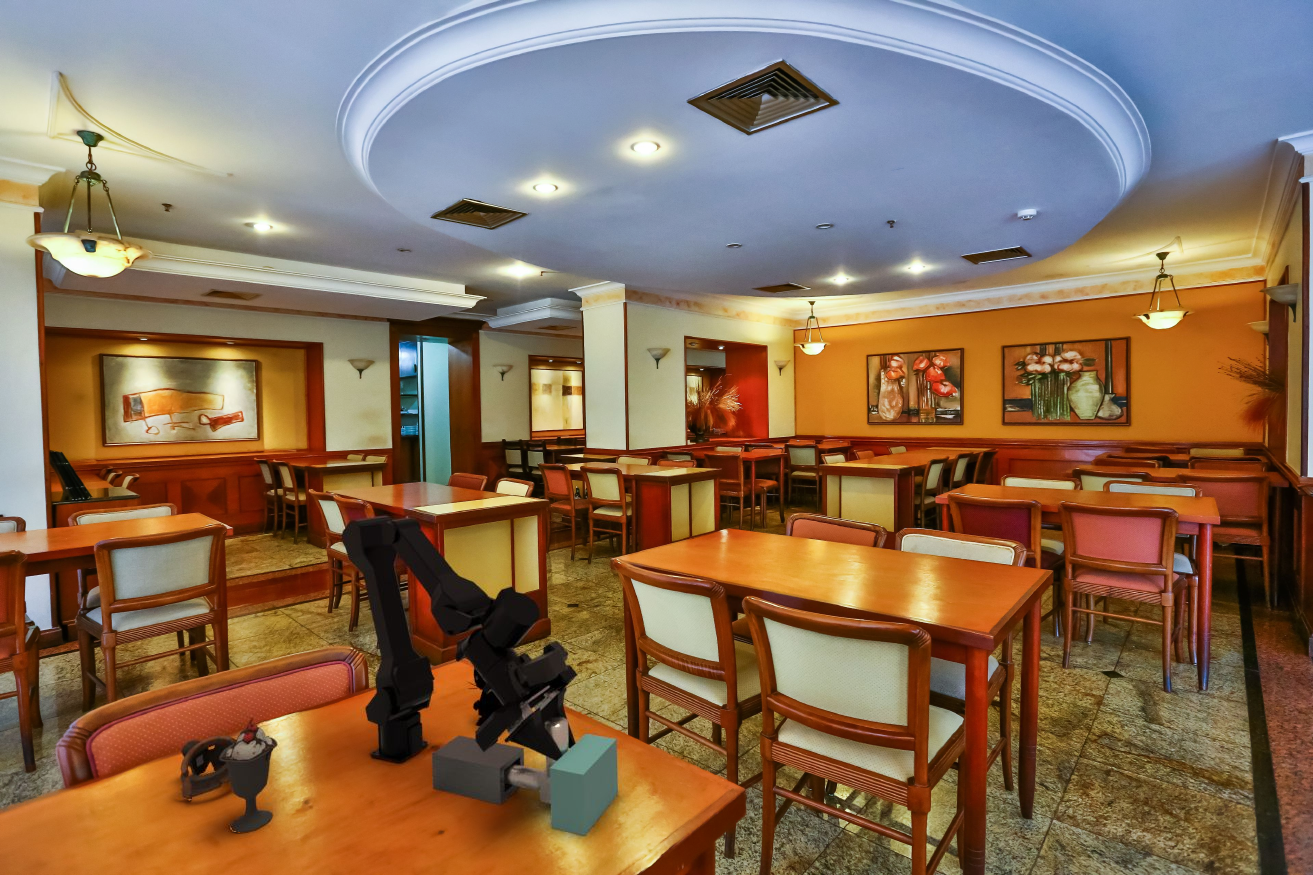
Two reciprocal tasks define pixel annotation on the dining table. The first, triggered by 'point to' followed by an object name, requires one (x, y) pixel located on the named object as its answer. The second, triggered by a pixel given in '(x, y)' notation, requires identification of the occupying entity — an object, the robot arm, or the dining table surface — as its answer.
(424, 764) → the dining table surface
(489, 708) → the cat figurine
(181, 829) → the dining table surface
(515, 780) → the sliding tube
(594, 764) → the teal block
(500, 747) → the grey rectangular box
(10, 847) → the dining table surface
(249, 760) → the sundae
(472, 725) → the dining table surface
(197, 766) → the strapped goggles
